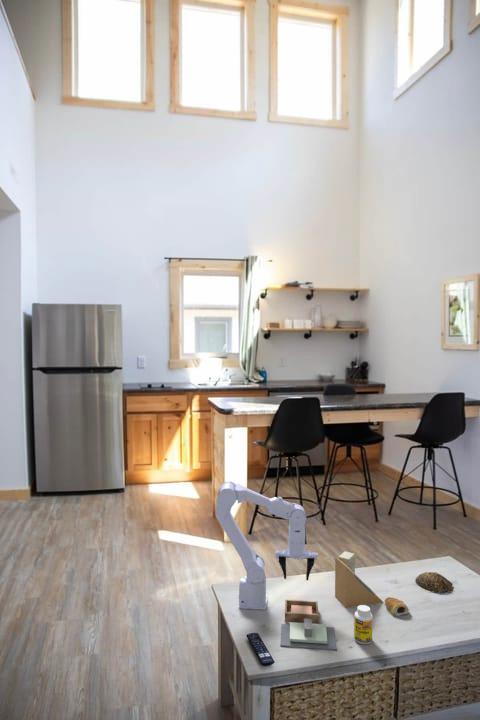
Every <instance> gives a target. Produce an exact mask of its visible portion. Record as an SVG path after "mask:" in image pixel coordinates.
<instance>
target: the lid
mask: <svg viewBox="0 0 480 720" xmlns="http://www.w3.org/2000/svg"><path fill="white" fill-rule="evenodd" d="M289 624H290V641H293V642H308V643H323V644H327V633H326V627H327V625H326V624H322V623H321V624H320V623H318V624H312V619H306V618H304V623H294V622H289Z"/></svg>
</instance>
